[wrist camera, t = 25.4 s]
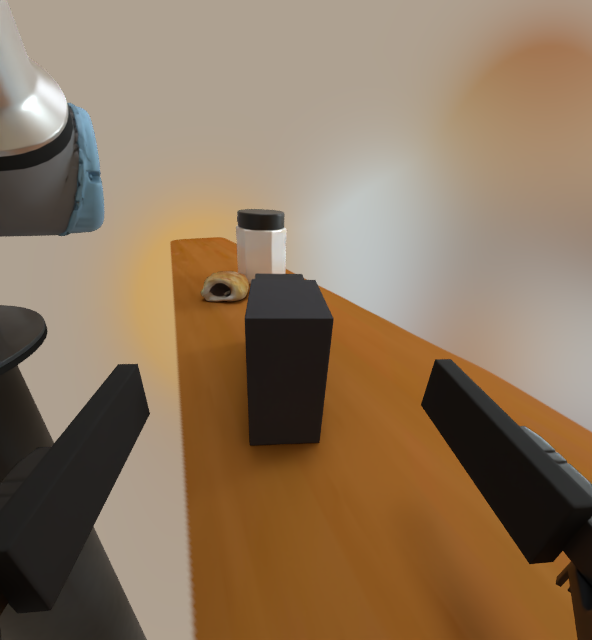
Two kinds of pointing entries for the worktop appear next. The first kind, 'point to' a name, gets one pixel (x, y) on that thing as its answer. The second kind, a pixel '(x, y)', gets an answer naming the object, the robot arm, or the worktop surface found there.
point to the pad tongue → (286, 360)
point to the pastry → (225, 286)
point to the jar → (260, 242)
